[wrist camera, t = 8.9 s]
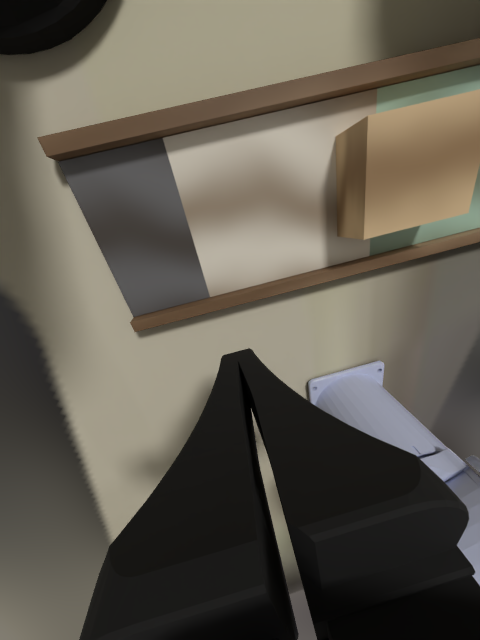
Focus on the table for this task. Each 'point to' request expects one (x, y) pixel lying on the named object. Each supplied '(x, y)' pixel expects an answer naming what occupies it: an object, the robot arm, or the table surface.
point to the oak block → (408, 166)
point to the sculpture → (42, 23)
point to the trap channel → (249, 187)
